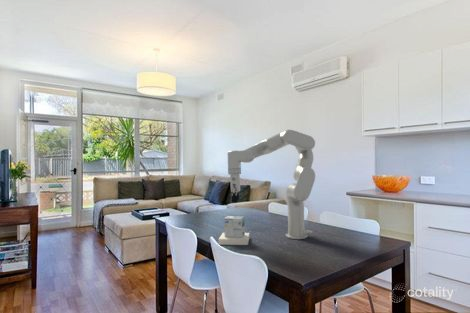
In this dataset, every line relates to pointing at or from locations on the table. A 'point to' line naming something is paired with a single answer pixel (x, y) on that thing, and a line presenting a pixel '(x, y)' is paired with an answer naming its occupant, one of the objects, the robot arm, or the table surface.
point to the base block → (234, 240)
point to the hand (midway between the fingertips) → (235, 201)
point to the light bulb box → (234, 226)
